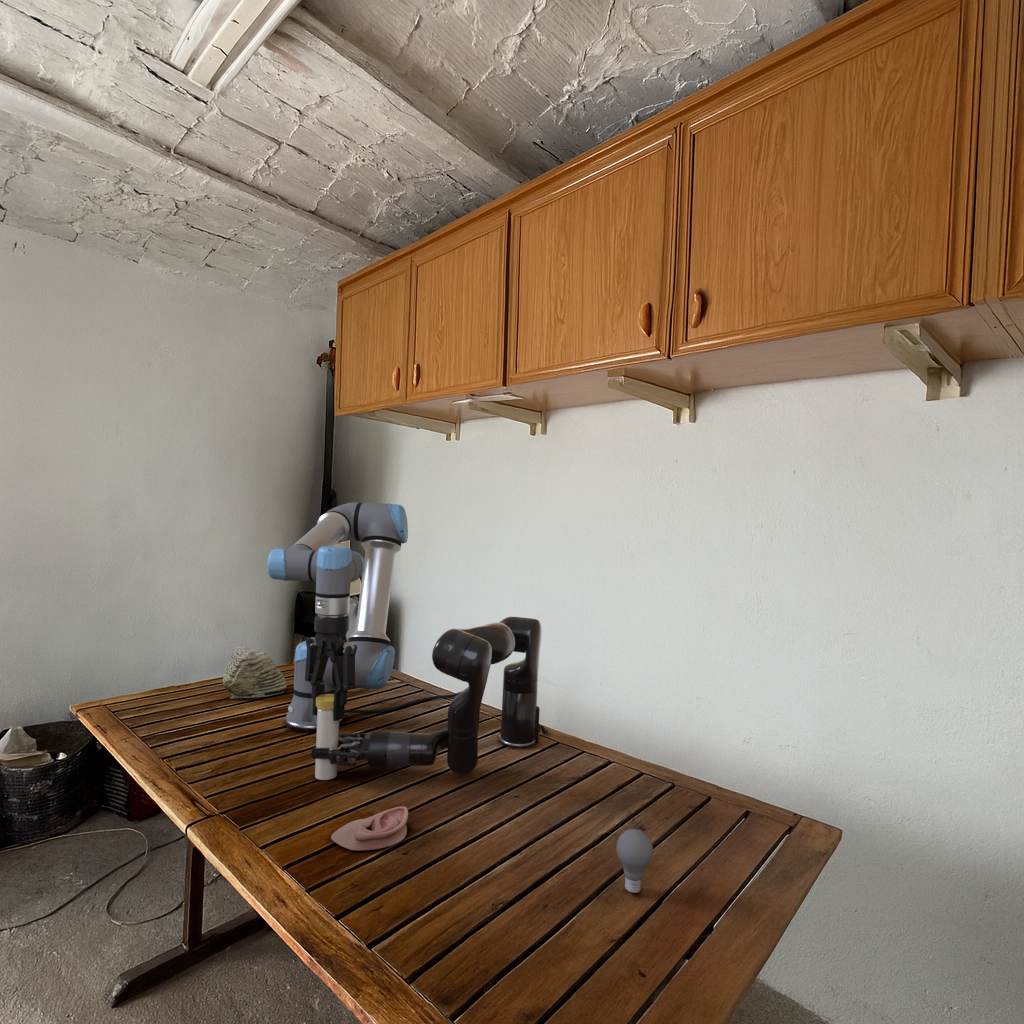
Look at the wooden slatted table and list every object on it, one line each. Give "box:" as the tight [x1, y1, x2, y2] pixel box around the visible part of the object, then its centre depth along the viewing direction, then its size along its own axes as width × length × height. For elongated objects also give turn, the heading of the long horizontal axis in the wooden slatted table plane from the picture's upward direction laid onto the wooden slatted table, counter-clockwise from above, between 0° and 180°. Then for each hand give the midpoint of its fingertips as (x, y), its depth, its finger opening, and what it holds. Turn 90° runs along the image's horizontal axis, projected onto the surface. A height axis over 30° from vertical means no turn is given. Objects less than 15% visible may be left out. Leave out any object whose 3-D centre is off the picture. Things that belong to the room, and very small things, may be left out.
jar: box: [314, 708, 340, 781], centre depth 144 cm, size 5×5×17 cm
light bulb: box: [615, 828, 654, 894], centre depth 106 cm, size 6×6×10 cm
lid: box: [316, 694, 334, 709], centre depth 144 cm, size 6×6×2 cm
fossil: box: [222, 646, 288, 699], centre depth 198 cm, size 9×18×15 cm, turn 132°
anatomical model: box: [330, 805, 409, 852], centre depth 119 cm, size 13×4×12 cm
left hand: (328, 716), depth 144 cm, fingers closed on lid, 6 cm apart
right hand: (315, 748), depth 144 cm, fingers closed on jar, 5 cm apart
